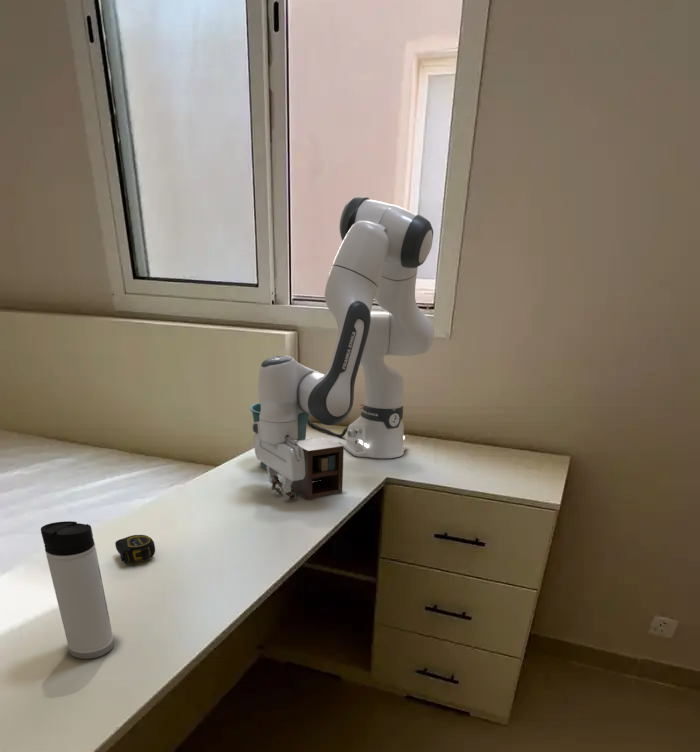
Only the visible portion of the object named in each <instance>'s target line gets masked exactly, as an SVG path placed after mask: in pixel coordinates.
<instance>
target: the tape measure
mask: <svg viewBox="0 0 700 752" xmlns="http://www.w3.org/2000/svg"><path fill="white" fill-rule="evenodd" d="M114 545H115V549H116V551H117V553H118V554H119V555H120V559H121V562H123V563H124V564H126V565H129V564H132V563H140V562H145V561H147V560H150V559H151V558H153V557H154V555H155V553H156V546H155V541H154V540H153V538H151V537H150V536H148V535H146V534H132V535H129V536H126V537H124V538H123V537H122V538H120V539H118V540H116V541H115V543H114Z"/></svg>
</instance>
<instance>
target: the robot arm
mask: <svg viewBox="0 0 700 752" xmlns="http://www.w3.org/2000/svg"><path fill="white" fill-rule="evenodd" d="M338 226H339V227H338V228H339V229H338V230H339V235H340V238H341V241H342V242H341V244H340V246H339V248H338V250H337V253H336V255H335V257H334V260H333V262H332V265H331V268H330V270H329V274H328V276H327V280H326V284H325V290H324V300H325V304H326V307H327V308H328V310H329V312H330V314H331V315H332V316H333V318H334V320H335V321H336V324H337V338H336V341H335V344H334V345H335V346H334V349H333V353H332V357H331V360H330V363H329V367H328V369H327V372H325V373H323V372H321V371H318V370H315V369H312V368H310V367H308V366H305V365H303V364H301V363H300V362H298V361H297V360H296V359H295V358H294V357H292V356H290V355H274V356H271V357H268V358H266V359H265V360H263V361H262V362H261V364H260V367H259V371H258V389H257V390H258V402H259V403H260V405H261V411H260V415H259V420H260V421H259V422H254V421H253V422H252V423H251V431H252V432H253V446H254V447H253V448H254V454H255V457H256V459H257V460H258V461H259V462H260V463H261V462H263V463H264V464H266V465H267V469H266V470H267V474H268V476H269V478H268V479H269V483H270V484H271V485H273V480H272V475H274V476H277V477H278V478H279V476H278V474H280V475H281V476H282V479H283V482H282V483H283V484H282V490H281V491H282V493H285V494H286V493H288V492H290V491H291V492H292V489H291V484H292V482H293V481H297V480H302V479H304V477H305V459H304V452H303V449H302V448H301V447H300V446H299V444H298V441H297V438H298V414H299V413H301V412H305V413H307V414H309V416H311V417H313V418H314V419H315V420H317V421H318V423H320V424H322V425H324V426H335V425H338V424H340V423H342V422H343V421H344V420H345V419H346V418H347V417H348V416H349V415H350V413H351V411H352V409H353V405H354V400H355V399H354V398H355V386H356V385H355V383H356V379H357V377H358V376H357V375H358V371H359V368H360V366H361V369H362V372H363V375H364V384H365V385H364V392H365V393H364V403H363V404H360V405H359V406H360V407H359V410H361V412H360V416H359V417H358V418H356V419H355V420H354V421H353V422H351V423H350V424H348V425H347V427H345V428H344V429H343V431H342V432H341V433H336V432H334V431H331V430H329V429H327V428H325V427H321V426H319V425H317V424H315V423H313V421H312V420H311V419H309V418H308V424H309V425H310V426H311V427H313V428H314V429H316V430H318V431H321V432H324V433H326V434H328V435H331V436H333V437H337V438H343V437H345V435H346V438H343V439H340V440H339V441H338V444H340V445H343V446H344V449H345V450H346V451H347V452H349V453H350V454H352V455H353V456H354V457H360V458H371V459H395V458H399V457H402V456H403V455H404V454H405V451H406V449H407V446H406V445H405V441H404V440H405V439H406V436H405V433H404V432H405V431H404V429H405V426H404V422H403V421H402V420H403V418H404V405H403V397H404V385H405V382H404V378H403V376H402V375H401V373H400V372H398V371H397V370H395V369H394V368H393V367H391V366H389V365H387V364H386V363H385V360H384V359H385V357H386V356H397V357H398V356H399V357H400V356H401V357H411V356H412V357H413V356H417V355H423V354H426V353H427V352H428V351H429V349H430V348H431V347H432V345H433V342H434V337H435V329H434V325H433V323H432V321H431V319H430V318H429V317H428V316H426V315H425V314H424V313H423V312H422V311H421V309H420V308H419V306H418V304H417V300H416V284H417V275H418V269H419V267H420V266H422V265H423V264H424V263H425V262H426V260H427V258H428V256H429V254H430V252H431V249H432V246H433V241H434V240H433V239H434V229H433V226H432V224H431V222H430V221H429V220H428V219H427V218H426V217H424V216H422V215H421V214H415V213H414V212H411V211H410V210H408V209H405V208H404V207H401V206H398V205H396V204H390V203H387V202H383V201H379V200H374V199H371V198H369V197H367V196H353V197H352V198H351V199H350V200H349V201H347V202H346V204H345V205H344V207H343V210H342V213H341V214H340V219H339V225H338ZM374 301H375V302H376V304H377V305H378V306H379V307H380V308H382V309H383V310H384V311H386V312H383V311H372V307H373V304H374ZM276 484H277V483H276ZM277 485H278V484H277Z"/></svg>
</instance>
